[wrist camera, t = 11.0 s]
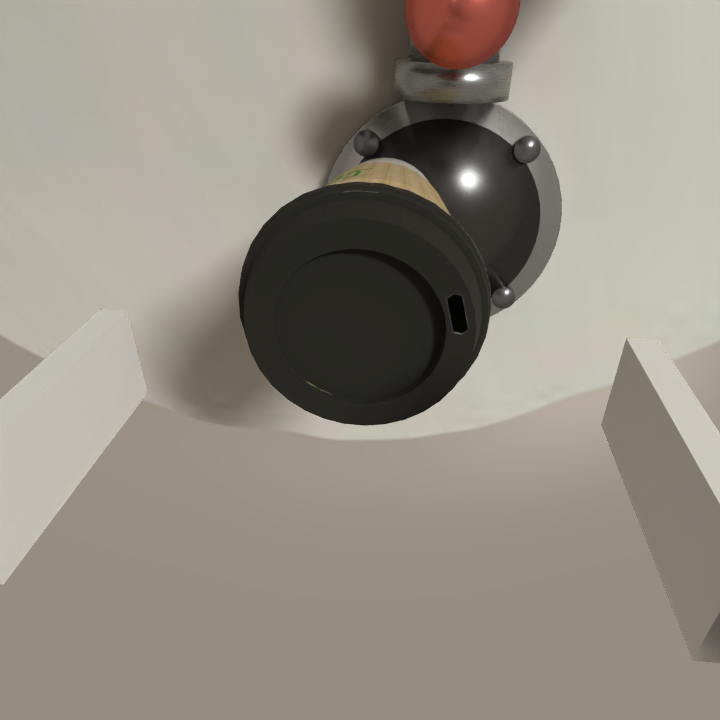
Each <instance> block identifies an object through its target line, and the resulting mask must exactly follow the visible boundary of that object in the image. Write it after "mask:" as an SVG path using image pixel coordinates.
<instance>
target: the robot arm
mask: <svg viewBox="0 0 720 720" xmlns="http://www.w3.org/2000/svg"><path fill="white" fill-rule="evenodd" d="M147 393H148V392H147V388H146V384H145V380H144V376H143V372H142V368H141V364H140V360H139V357H138V353H137V349H136V345H135V341H134V337H133V333H132V329H131V325H130V321H129V317H128V313H127V311H124V310H106V309H100V310H99V311H98V312H97V313H96V314H95V315H93V316H92V317H91V318H90V319H89V320H88V321H87V322H86V323H85V324H83V325H82V326H81V327H80V328H79V329H78V330H77V331H76V332H75V333H73V334H72V335H71V336H70V337H69V338H68V339H67V340H66V341H65V342H63V343H62V344H61V345H60V346H59V347H58V348H57V349H56V350H55V351H53V352H52V353H51V354H50V355H49V356H48V357H47V358H46V359H44V360H43V361H42V362H41V363H40V364H39V365H38V366H37V367H36V368H35V369H33V370H32V371H31V372H30V373H29V374H28V375H27V376H26V377H24V378H23V379H22V380H21V381H20V382H19V383H18V384H17V385H16V386H15V387H13V388H12V389H11V390H10V391H9V392H8V393H7V394H5V395H4V396H3V397H2V398H1V399H0V584H4V583H5V582H6V580H7V579H8V578H9V576H10V575H11V574H12V572H13V571H14V570H15V568H16V567H17V566H18V564H19V563H20V562H21V560H22V559H23V557H24V556H25V555H26V554H27V552H28V551H29V550H30V548H31V547H32V546H33V544H34V543H35V542H36V540H37V539H38V538H39V536H40V535H41V533H42V532H43V531H44V530H45V528H46V527H47V526H48V524H49V523H50V522H51V520H52V519H53V518H54V516H55V515H56V514H57V512H58V511H59V510H60V508H61V507H62V506H63V504H64V503H65V502H66V500H67V499H68V498H69V497H70V495H71V494H72V493H73V491H74V490H75V488H76V487H77V486H78V485H79V483H80V482H81V481H82V479H83V478H84V477H85V475H86V474H87V473H88V471H89V470H90V469H91V467H92V466H93V465H94V463H95V462H96V461H97V459H98V458H99V457H100V455H101V454H102V453H103V451H104V450H105V449H106V447H107V446H108V445H109V443H110V442H111V441H112V439H113V438H114V437H115V435H116V434H117V433H118V431H119V430H120V429H121V427H122V426H123V425H124V423H125V422H126V421H127V419H128V418H129V417H130V415H131V414H132V413H133V411H134V410H135V409H136V407H137V406H138V405H139V403H140V402H141V401H142V399H143V398H144V397H145V396H146V394H147ZM602 428H603V430H604V433H605V435H606V438H607V441H608V443H609V446H610V448H611V451H612V454H613V456H614V459H615V461H616V463H617V466H618V469H619V472H620V474H621V477H622V479H623V482H624V485H625V487H626V489H627V492H628V495H629V497H630V500H631V503H632V505H633V508H634V510H635V513H636V516H637V518H638V521H639V523H640V526H641V528H642V531H643V534H644V536H645V539H646V541H647V544H648V547H649V549H650V552H651V554H652V557H653V560H654V562H655V565H656V567H657V570H658V572H659V575H660V578H661V580H662V583H663V585H664V588H665V591H666V593H667V596H668V598H669V601H670V603H671V606H672V609H673V611H674V613H675V616H676V619H677V621H678V624H679V627H680V629H681V632H682V634H683V637H684V640H685V642H686V645H687V647H688V650H689V652H690V655H691V658H692V660H696V661H705V662H714V663H720V433H719V432H718V430H717V429H716V427H715V425H714V424H713V422H712V421H711V419H710V418H709V416H708V415H707V413H706V412H705V410H704V409H703V407H702V406H701V404H700V403H699V401H698V399H697V398H696V397H695V395H694V394H693V392H692V390H691V389H690V387H689V386H688V384H687V383H686V381H685V380H684V378H683V377H682V375H681V374H680V372H679V371H678V369H677V368H676V366H675V364H674V363H673V361H672V360H671V358H670V357H669V355H668V354H667V352H666V351H665V349H664V348H663V346H662V345H661V343H660V342H659V340H648V339H630V338H626V342H625V345H624V349H623V352H622V355H621V359H620V362H619V366H618V369H617V373H616V376H615V380H614V383H613V386H612V390H611V394H610V397H609V400H608V404H607V407H606V411H605V414H604V418H603V421H602Z"/></svg>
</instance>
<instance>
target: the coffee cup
mask: <svg viewBox="0 0 720 720" xmlns="http://www.w3.org/2000/svg"><path fill="white" fill-rule="evenodd" d="M239 307H240V318H241V321H242V325H243V328H244V331H245V335H246V338H247V341H248V344H249V348H250V351H251V354H252V355H253V357H254V359H255V361H256V363H257V365H258V367H259V369H260V370H261V372H262V373H263V374H264V376H265V377H266V378H267V379H268V381H269V382H270V383H271V384H272V386H273V387H274V388H276V389H277V390H278V391H279V392H280V393H281V394H282V395H283V396H285V397H286V398H287V399H288V400H290V401H291V402H293V403H294V404H296V405H297V406H299V407H301V408H302V409H304V410H305V411H308V412H310V413H312V414H315V415H317V416H319V417H322V418H324V419H328V420H332V421H336V422H340V423H344V424H354V425H379V424H387V423H392V422H396V421H401V420H405V419H407V418H409V417H412V416H414V415H417V414H419V413H421V412H424V411H425V410H427V409H428V408H430V407H431V406H433V405H434V404H436V403H437V402H439V401H440V400H441V399H442V398H443V397H444V396H446V395H447V394H448V393H449V392H450V391H451V390H452V389H453V388H454V387H455V385H456V384H457V382H459V381H460V380H461V379H462V378H463V377H464V376H465V374H466V373H467V371H468V370H469V368H470V367H471V365H472V364H473V363H474V361H475V360H476V358H477V357H478V354H479V352H480V349H481V347H482V345H483V342H484V340H485V338H486V334H487V329H488V324H489V318H490V313H491V292H490V283H489V279H488V275H487V271H486V268H485V264H484V261H483V259H482V257H481V255H480V253H479V252H478V250H477V248H476V246H475V244H474V242H473V240H472V239H471V238H470V236H469V235H468V234H467V233H466V232H465V230H464V229H463V228H462V227H461V225H460V224H459V223H458V222H457V221H456V220H455V219H454V218H453V217H452V216H451V215H450V213H449V211H448V210H447V208H446V206H445V204H444V203H443V201H442V199H441V198H440V196H439V194H438V192H437V191H436V190H435V189H434V188H433V186H432V185H431V184H430V183H429V181H428V180H427V179H426V177H425V176H424V175H423V174H422V173H421V172H420V171H419V170H418V169H416V168H415V167H414V166H412V165H410V164H408V163H406V162H404V161H401V160H398V159H394V158H376V159H371V160H368V161H365V162H362V163H361V164H359V165H357V166H356V167H353V168H351V169H349V170H347V171H346V172H344V173H342V174H341V175H339V176H338V177H336V178H335V179H333V180H332V181H330V182H329V183H328V184H326V185H325V186H323V187H322V188H319V189H316V190H313V191H310V192H307V193H305V194H302V195H301V196H299V197H298V198H296V199H294V200H293V201H291V202H289V203H288V204H286V205H285V206H283V207H281V208H280V209H279V210H278V211H277V212H276V213H275V214H274V215H273V216H272V217H271V218H270V219H269V220H268V221H267V222H266V223H265V224H264V225H263V227H262V228H261V230H260V231H259V233H258V234H257V236H256V237H255V239H254V240H253V242H252V243H251V245H250V248H249V251H248V253H247V256H246V259H245V261H244V264H243V267H242V272H241V279H240V286H239Z"/></svg>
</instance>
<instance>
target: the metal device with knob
mask: <svg viewBox="0 0 720 720" xmlns="http://www.w3.org/2000/svg"><path fill="white" fill-rule="evenodd" d="M519 7H520V0H406V2H405V16H406V23H407V27H408V31H409V34H410V54H409V58H403V59H396V60H395V76H394V96H395V97H397V98H400V99H405V100H402V101H400V102H398V103H396V104H394V105H391V106H389V107H387V108H385V109H384V110H382V111H381V112H379V113H378V114H377V115H375V116H374V117H372V118H371V119H370V120H369V121H367V122H366V123H365V124H364V125H363V126H362V127H361V128H360V129H359V130H358V131H357V132H356V133H355V134H354V136H353V137H352V138H351V139H350V140H349V141H348V143H347V144H346V145H345V147H344V149H343V150H342V152H341V153H340V155H339V156H338V158H337V160H336V162H335V164H334V166H333V168H332V170H331V173H330V176H329V179H328V182H327V184H328V183H329V182H330V181H332V180H333V179H335V178H336V177H338V176H339V175H341V174H342V173H344V172H346V171H347V170H349V169H351V168H353V167H356V166H357V165H359V164H361V163H362V162H365V161H368V160H371V159H376V158H394V159H398V160H401V161H404V162H406V163H408V164H410V165H412V166H414V167H415V168H416V169H418V170H419V171H420V172H421V173H422V174H423V175H424V176H425V177H426V179H427V180H428V181H429V183H430V184H431V185H432V186H433V188H434V189H435V190H436V191H437V192H438V194H439V196H440V198H441V199H442V201H443V203H444V204H445V206H446V208H447V210H448V211H449V213H450V215H451V216H452V217H453V218H454V219H455V220H456V221H457V222H458V223H459V224H460V225H461V227H462V228H463V229H464V230H465V232H466V233H467V234H468V235H469V236H470V238H471V239H472V240H473V242H474V244H475V246H476V248H477V250H478V252H479V253H480V255H481V257H482V259H483V261H484V264H485V268H486V271H487V275H488V279H489V283H490V292H491V313H490V316H492V315H494V314H496V313H498V312H500V311H502V310H503V309H505V308H508V307H510V306H511V305H512V304H513V303H514V302H515V301H516V300H517V299H518V298H520V297H521V296H522V295H523V294H524V293H525V292H526V291H527V290H528V289H529V288H530V287H531V286H532V285H533V283H534V282H535V281H536V280H537V278H538V277H539V276H540V274H541V273H542V271H543V270H544V268H545V266H546V264H547V263H548V261H549V259H550V257H551V254H552V252H553V250H554V247H555V245H556V241H557V237H558V234H559V230H560V222H561V215H562V199H561V192H560V185H559V180H558V177H557V174H556V170H555V167H554V165H553V163H552V161H551V158H550V156H549V154H548V152H547V151H546V149H545V148H544V146H543V144H542V143H541V141H540V140H539V138H538V137H537V136H536V135H535V134H534V133H533V132H532V130H531V129H530V128H529V127H528V126H527V125H526V124H525V123H524V122H523V121H522V120H521V119H519V118H518V117H517V116H516V115H515V114H513V113H512V112H510V111H509V110H507V109H505V108H504V107H502V106H500V105H499V104H496V102H503V101H506V100H508V98H509V90H510V83H511V76H512V69H513V63H512V62H508V61H499V56H500V48H501V47H502V46H503V45H504V44H505V42H506V41H507V39H508V38H509V36H510V34H511V32H512V30H513V28H514V26H515V23H516V20H517V17H518V12H519Z"/></svg>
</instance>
